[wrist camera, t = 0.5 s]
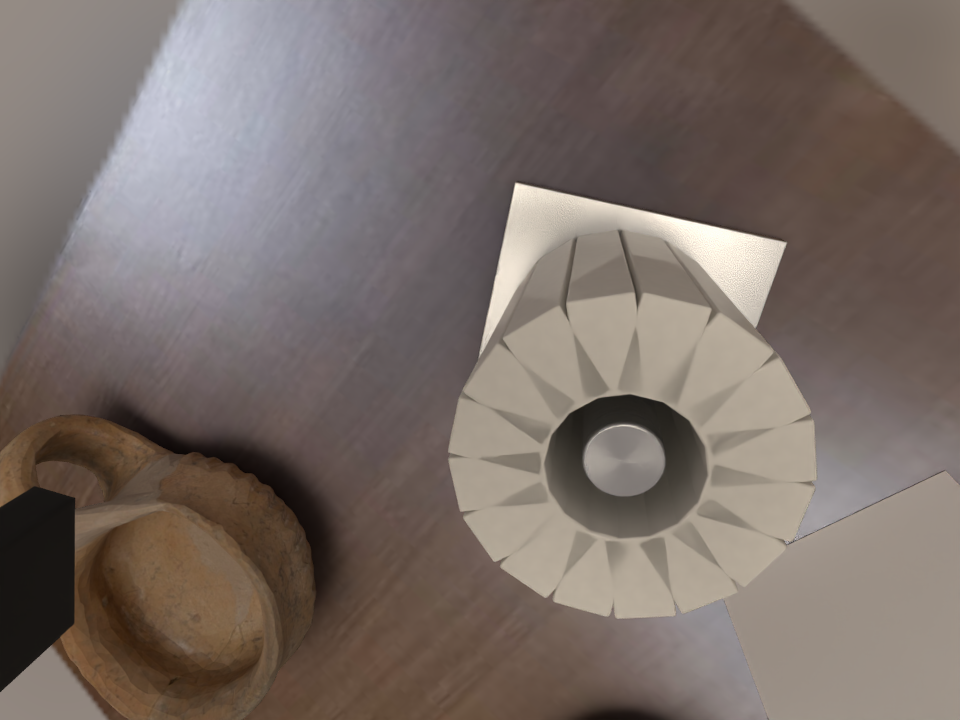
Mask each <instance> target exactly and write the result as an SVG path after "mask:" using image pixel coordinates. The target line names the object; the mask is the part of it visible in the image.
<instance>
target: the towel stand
mask: <svg viewBox="0 0 960 720" xmlns="http://www.w3.org/2000/svg"><path fill="white" fill-rule="evenodd" d="M613 230H618V232H619V236H621V233H622V230H626V231H630V232H635V233H639V234H644V235H648V236H653V237H657V238H661V239H663V241H664V242H669V243H671V244H672V245H674V246H675V247H676V248H678V249H679V250H681V251H682V252H683V253H685V254H686V255H687V256H689V257H690V258H692V259H693V260H694V261H696V262H697V263H698V264H699V265H700V266H701V267H702V268H703V269H704V270H705V271H706V273H707V274H708V275H709V276H710V277H711V278H712V279H713V281H714V282H715V283H716V284H717V285H718V286H719V287H720V289H721V290H722V291H723V292H724V293H725V294H726V296H727V297H728V298H729V299H730V300H731V301H732V302H733V304H734V305H735V306H736V307H737V308H738V309H739V310H740V312H741V313H742V314H743V315H744V316H745V317H746V318H747V320H748V321H749V322H750V323H751V324H752V325H753V327H754V328H755V329H756V328H757V325H758V323H759V320H760V317H761V314H762V312H763V309H764V306H765V303H766V300H767V298H768V295H769V292H770V289H771V287H772V284H773V281H774V278H775V276H776V273H777V270H778V267H779V264H780V262H781V259H782V256H783V253H784V251H785V248H786V245H787V242H786V241H784V240H782V239H780V238H775V237H770V236H766V235H761V234H757V233H752V232H748V231H743V230H739V229H734V228H730V227H725V226H721V225H716V224H711V223H707V222H702V221H698V220H693V219H689V218H684V217H680V216H675V215H671V214H666V213H662V212H657V211H652V210H648V209H643V208H639V207H634V206H630V205H625V204H621V203H616V202H612V201H607V200H603V199H598V198H593V197H589V196H584V195H580V194H575V193H571V192H566V191H562V190H557V189H553V188H548V187H543V186H539V185H534V184H530V183H525V182H521V181H517V182H515V184H514V189H513V194H512V198H511V203H510V208H509V212H508V217H507V222H506V227H505V231H504V236H503V241H502V246H501V250H500V255H499V260H498V265H497V269H496V274H495V279H494V283H493V288H492V293H491V298H490V302H489V307H488V312H487V317H486V321H485V326H484V331H483V336H482V340H481V345H480V350H479V355H478V359H477V362H478V360H479V358H480V356H481V354H482V352H483V350H484V349H485V347H486V345H487V343H488V341H489V339H490V337H491V335H492V334H493V332H494V330H495V328H496V326H497V324H498V322H499V320H500V319H501V317H502V315H503V313H504V311H505V309H506V307H507V306H508V304H509V302H510V300H511V298H512V296H513V294H514V292H515V291H516V290H517V288H518V287H519V285H520V284H521V283H522V281H523V280H524V278H525V277H526V276H527V274H528V273H529V271H530V270H531V269H532V267H533V266H534V264H535V263H538V262H539V260H540V258H542V257H544V256H545V255H547V254H548V253H550V252H552V251H553V250H555V249H557V248H558V247H560V246H561V245H563V244H565V243H566V242H568V241H569V240H571V239H574V240H575V242H576V243H577V238H578V237H579V236H584V235H590V234H596V233H601V232H607V231H613ZM666 462H667V459H666V452H665V447H664V443H663V439H662V434H661V430H660V426H659V421H658V417H657V413H656V408H655V404H654V400H652V399H648V398H644V397H640V396H636V395H632V394H627V395H619V396H610V397H602V398H597V399H595V400H594V401H592V402H590V403H588V404H586V405H584V412H583V437H582V466H583V470H584V472H585V475H586V476H587V478H588V479H589V481H590V482H591V483H592V484H593V485H594V486H595V487H596V488H598V489H599V490H601V491H602V492H604V493H606V494H609V495H612V496H616V497H633V496H638V495H641V494H643V493H645V492H647V491H649V490H650V489H652V488H653V487H654V486H655V485H656V484H657V483H658V482H659V481H660V479H661V478H662V476H663V474H664V471H665V468H666Z"/></svg>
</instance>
